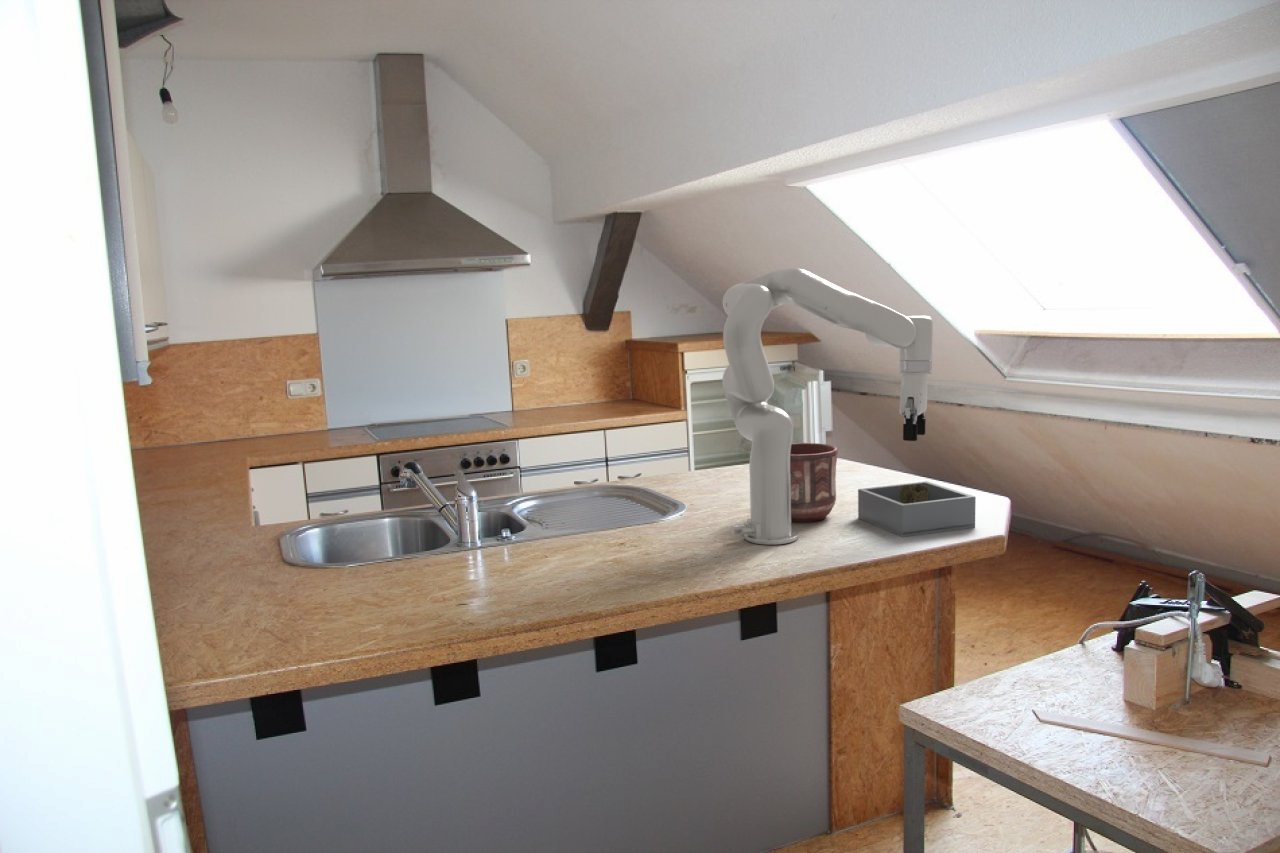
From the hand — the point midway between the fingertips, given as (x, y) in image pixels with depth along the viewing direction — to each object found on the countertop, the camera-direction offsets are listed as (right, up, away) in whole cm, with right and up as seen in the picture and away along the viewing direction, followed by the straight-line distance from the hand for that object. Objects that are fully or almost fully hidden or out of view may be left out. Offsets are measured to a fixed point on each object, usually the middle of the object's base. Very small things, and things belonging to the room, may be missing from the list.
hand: (914, 437), depth 234 cm
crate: (+1, -21, +3) cm, 21 cm away
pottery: (-25, -21, +13) cm, 35 cm away
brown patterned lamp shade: (+1, -20, +3) cm, 21 cm away
